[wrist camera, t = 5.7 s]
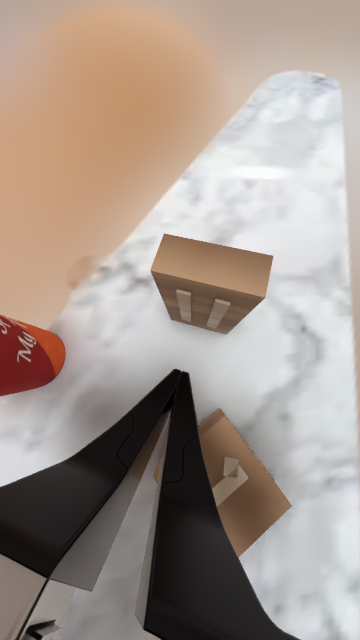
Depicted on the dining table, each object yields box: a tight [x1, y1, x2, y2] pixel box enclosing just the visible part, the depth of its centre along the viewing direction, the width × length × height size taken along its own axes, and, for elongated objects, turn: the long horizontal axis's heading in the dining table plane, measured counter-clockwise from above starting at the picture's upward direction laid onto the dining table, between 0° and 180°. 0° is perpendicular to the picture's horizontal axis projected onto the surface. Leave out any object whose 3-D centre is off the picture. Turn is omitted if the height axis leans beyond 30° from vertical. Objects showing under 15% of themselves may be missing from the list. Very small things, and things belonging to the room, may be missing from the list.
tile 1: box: [153, 409, 292, 557], centre depth 14 cm, size 7×7×3 cm
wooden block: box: [150, 234, 273, 334], centre depth 14 cm, size 3×6×10 cm, turn 74°
